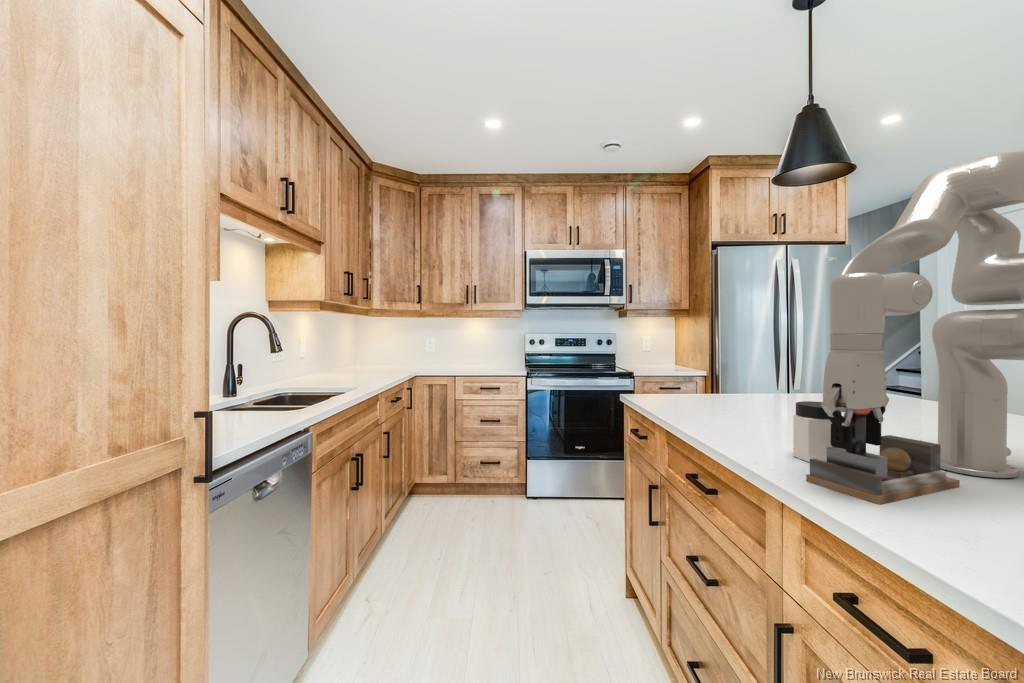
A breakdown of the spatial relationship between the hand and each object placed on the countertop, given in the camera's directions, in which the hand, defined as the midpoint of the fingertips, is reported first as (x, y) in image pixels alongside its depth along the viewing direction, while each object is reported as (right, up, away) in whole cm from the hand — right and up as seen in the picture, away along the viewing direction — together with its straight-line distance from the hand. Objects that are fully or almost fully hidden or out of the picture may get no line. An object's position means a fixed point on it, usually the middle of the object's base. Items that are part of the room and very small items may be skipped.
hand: (855, 445), depth 77 cm
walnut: (+10, -4, +4) cm, 12 cm away
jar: (+6, -8, +18) cm, 21 cm away
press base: (+7, -8, +3) cm, 10 cm away
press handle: (0, -6, 0) cm, 6 cm away
